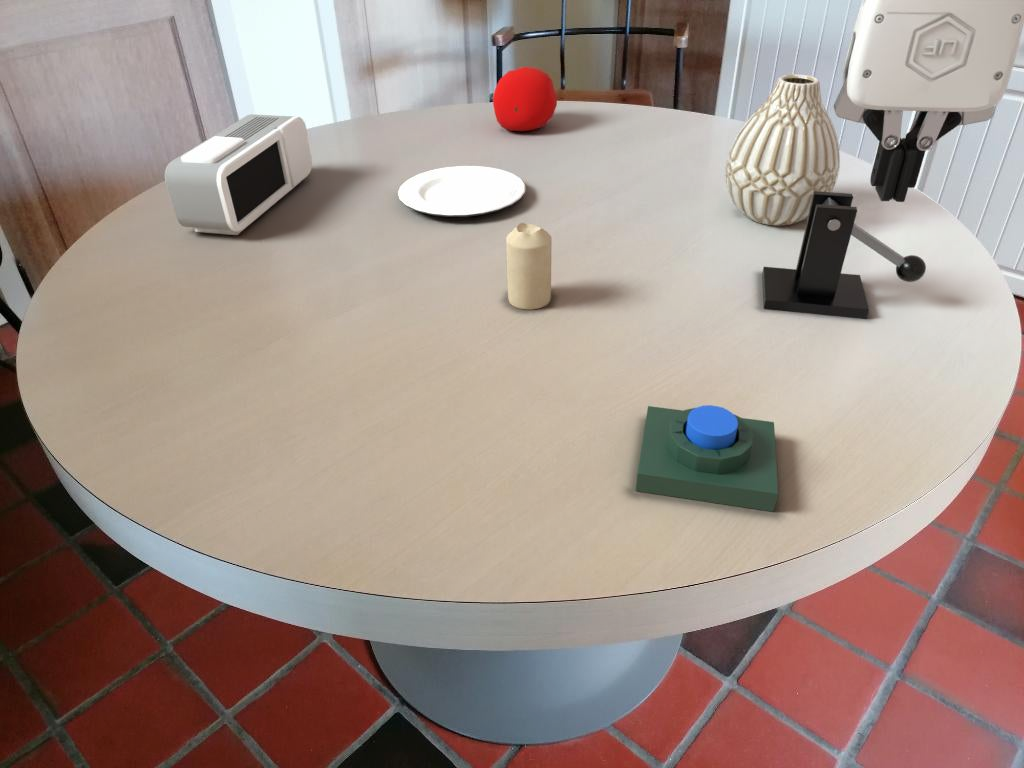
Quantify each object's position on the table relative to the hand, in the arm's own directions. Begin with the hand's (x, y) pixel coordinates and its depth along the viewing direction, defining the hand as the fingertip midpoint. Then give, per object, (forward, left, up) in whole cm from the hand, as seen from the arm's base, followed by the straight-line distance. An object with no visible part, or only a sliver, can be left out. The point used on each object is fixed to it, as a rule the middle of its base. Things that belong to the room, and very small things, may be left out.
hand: (889, 194), depth 59 cm
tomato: (+50, -89, -25) cm, 105 cm away
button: (+11, +6, -21) cm, 25 cm away
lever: (-6, -29, -18) cm, 34 cm away
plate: (+52, -51, -25) cm, 76 cm away
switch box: (+11, +6, -25) cm, 28 cm away
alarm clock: (+85, -42, -25) cm, 98 cm away
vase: (+3, -54, -25) cm, 59 cm away
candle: (+34, -21, -25) cm, 47 cm away
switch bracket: (-1, -29, -25) cm, 38 cm away
